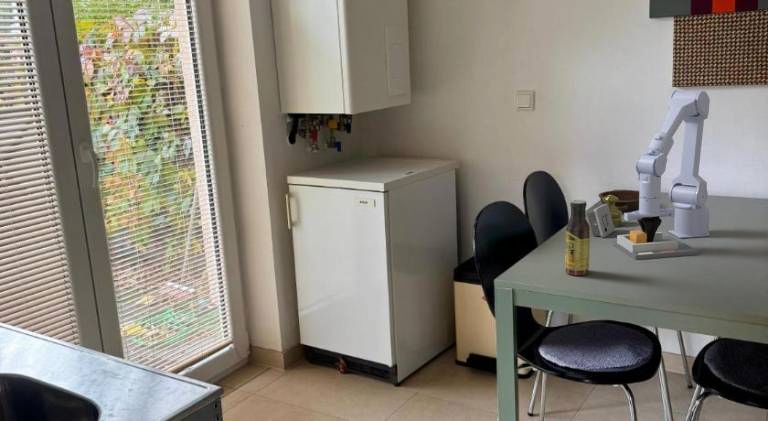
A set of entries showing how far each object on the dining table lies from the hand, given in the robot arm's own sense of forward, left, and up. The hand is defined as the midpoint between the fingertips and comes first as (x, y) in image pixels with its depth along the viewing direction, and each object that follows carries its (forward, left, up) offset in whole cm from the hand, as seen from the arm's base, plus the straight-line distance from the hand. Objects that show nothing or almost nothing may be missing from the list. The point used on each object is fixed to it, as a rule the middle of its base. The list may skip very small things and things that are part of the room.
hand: (648, 242), depth 208 cm
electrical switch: (+6, -20, -2) cm, 21 cm away
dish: (-14, -52, -3) cm, 54 cm away
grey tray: (-2, 0, -2) cm, 3 cm away
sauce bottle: (+26, +15, -2) cm, 30 cm away
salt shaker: (-1, -30, -2) cm, 30 cm away
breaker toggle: (+3, 0, -1) cm, 3 cm away
